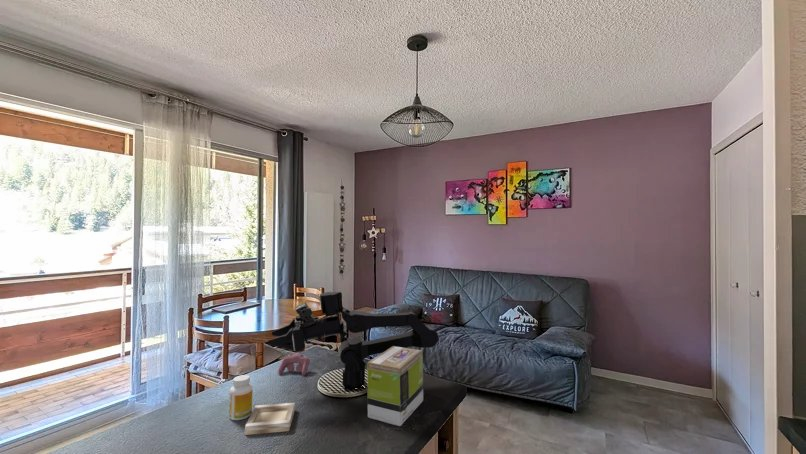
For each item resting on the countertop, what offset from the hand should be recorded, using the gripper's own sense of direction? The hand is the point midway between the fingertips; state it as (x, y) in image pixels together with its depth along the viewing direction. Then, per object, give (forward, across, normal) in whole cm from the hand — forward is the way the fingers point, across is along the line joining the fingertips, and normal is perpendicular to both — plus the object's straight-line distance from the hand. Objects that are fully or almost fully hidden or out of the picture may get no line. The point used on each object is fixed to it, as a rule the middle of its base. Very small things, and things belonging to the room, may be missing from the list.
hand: (270, 337), depth 100 cm
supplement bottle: (+8, +11, +16) cm, 21 cm away
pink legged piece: (-4, -15, +18) cm, 24 cm away
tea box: (-32, +17, +22) cm, 42 cm away
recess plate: (0, +16, +17) cm, 23 cm away
